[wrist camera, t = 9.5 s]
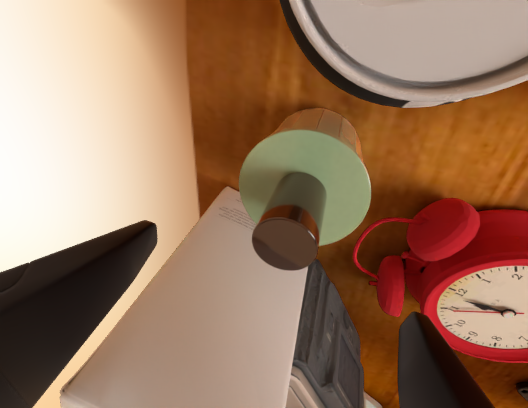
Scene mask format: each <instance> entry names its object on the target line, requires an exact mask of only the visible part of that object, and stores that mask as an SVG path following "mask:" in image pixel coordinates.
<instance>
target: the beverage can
mask: <svg viewBox="0 0 528 408" xmlns="http://www.w3.org/2000/svg"><path fill="white" fill-rule="evenodd" d="M280 4H281V7H282V10H283V13H284V16H285V19H286V22H287V24H288V26H289V28H290V31H291V33H292V34H293V36H294V38H295V40H296V42H297V44H298V45H299V47H300V49H301V50H302V52H303V53H304V54H305V56H306V57H307V58H308V60H309V61H310V62H311V63H312V65H313V66H314V67H315V68H316V69H317V70H318V71H319V72H320V73H321V74H322V75H323V76H324V77H325V78H327V79H328V80H329V81H330V82H332V83H333V84H335V85H336V86H337V87H339V88H341V89H342V90H344V91H346V92H347V93H349V94H352V95H354V96H356V97H358V98H360V99H363V100H366V101H369V102H372V103H376V104H380V105H385V106H393V107H400V108H415V107H430V106H438V105H444V104H449V103H454V102H458V101H463V100H466V99H469V98H472V97H476V96H482V95H486V94H489V93H492V92H495V91H499V90H502V89H505V88H508V87H511V86H514V85H516V84H519V83H522V82H524V81H527V80H528V0H280Z"/></svg>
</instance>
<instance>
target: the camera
mask: <svg viewBox="0 0 528 408" xmlns="http://www.w3.org/2000/svg"><path fill="white" fill-rule="evenodd" d="M363 393H364V372H363V366H362V364H361V362H360V338H359V335H358V333H357V331H356V329H355V326H354V324H353V322H352V320H351V318H350V316H349V314H348V312H347V310H346V308H345V306H344V304H343V302H342V300H341V297H340V296H339V294H338V291H337V289H336V287H335V285H334V284H333V283H332V282H331V281H330V280H329V278H328V277H327V275H326V273H325V271H324V269H323V267H322V265H321V263H320V262H319V260H318V259H315V260H314V261H313V262H312V263H311V264H310V265H309V266H308V270H307V276H306V282H305V288H304V294H303V301H302V307H301V313H300V319H299V325H298V332H297V338H296V344H295V350H294V356H293V363H292V369H291V375H290V381H289V388H288V394H287V401H286V407H285V408H364V396H363Z"/></svg>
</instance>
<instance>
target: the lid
mask: <svg viewBox="0 0 528 408" xmlns="http://www.w3.org/2000/svg"><path fill="white" fill-rule="evenodd" d="M239 191H240V196H241V200H242V202H243V205H244V207H245V209H246V211H247V213H248V214H249V216H250V217H251V218H252V220H253V221H254V222H255V223H256V226H255V228H254V230H253V233H252V245H253V248H254V250H255V252H256V253H257V255H258V256H259V257H260V258H261V259H262V260H263V261H264V262H265V263H267V264H268V265H270V266H272V267H274V268H277V269H280V270H286V271H296V270H301V269H303V268H306V267H307V266H309V265H310V264H311V263H312V262H313V261H314V260H315V259H316V257H317V254H318V249H319V246H321V245H326V244H330V243H333V242H336V241H339V240H340V239H342V238H344V237H346V236H347V235H349V234H350V233H352V232H353V231H354V230H355V229H356V228H357V227H358V226H359V225H360V223H361V222H362V221H363V219H364V217H365V216H366V214H367V211H368V209H369V205H370V201H371V183H370V177H369V173H368V170H367V168H366V165H365V163H364V161H363V160H362V158H361V157H360V155H359V154H358V153H357V152H356V150H355V149H354V148H353V147H352V146H350V145H349V144H348V143H347V142H346V141H344V140H343V139H341V138H340V137H338V136H336V135H334V134H332V133H330V132H327V131H324V130H321V129H316V128H311V127H292V128H287V129H283V130H280V131H277V132H274V133H272V134H270V135H268V136H267V137H265V138H264V139H262V140H261V141H260V142H259V143H258V144H257V145H256V146H255V147H254V148H253V149H252V150H251V151H250V153H249V154H248V155H247V157H246V159H245V160H244V162H243V165H242V168H241V171H240V176H239Z"/></svg>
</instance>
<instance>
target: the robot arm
mask: <svg viewBox="0 0 528 408" xmlns="http://www.w3.org/2000/svg"><path fill="white" fill-rule="evenodd" d="M156 244H157V227H156V224H155V223H152V222H149V221H147V220H144V221H140V222H138V223H135V224H132V225H130V226H127V227H124V228H121V229H119V230H116V231H113V232H110V233H108V234H105V235H102V236H100V237H97V238H94V239H92V240H89V241H86V242H83V243H81V244H78V245H75V246H72V247H69V248H67V249H64V250H61V251H59V252H56V253H53V254H50V255H48V256H45V257H42V258H39V259H37V260H34V261H32V262H30V263H26V264H23V265H20V266H17V267H15V268H12V269H9V270H6V271H3V272H0V408H32V407H33V406H34V405H35V404H36V403H37V401H38V400H39V399H40V398H41V396H42V395H43V394H44V393H45V391H46V390H47V389H48V388H49V386H50V385H51V384H52V383H53V381H54V380H55V379H56V378H57V376H58V375H59V374H60V373H61V371H62V370H63V369H64V367H65V366H66V365H67V364H68V363H69V361H70V360H71V359H72V357H73V356H74V355H75V354H76V352H77V351H78V350H79V349H80V347H81V346H82V345H83V344H84V342H85V341H86V340H87V339H88V337H89V336H90V335H91V334H92V332H93V331H94V330H95V329H96V327H97V326H98V325H99V323H100V322H101V321H102V320H103V319H104V317H105V316H106V315H107V314H108V312H109V311H110V310H111V309H112V307H113V306H114V305H115V304H116V302H117V301H118V300H119V299H120V297H121V296H122V295H123V294H124V292H125V291H126V290H127V289H128V287H129V286H130V284H131V283H132V282H133V281H134V279H135V278H136V276H137V275H138V273H139V272H140V270H141V268H142V267H143V265H144V264H145V262H146V261H147V259H148V257H149V256H150V254H151V253H152V251H153V250H154V248H155V246H156ZM516 388H517V390H518V392H519V393H520V394H521V395H522V396H523V397H524V398H525V399H526V400H527V401H528V382H526V383H520V384H517V385H516ZM398 392H399V404H400V408H495V407H494V406H493V404H492V403H491V402H490V400H489V399H488V398H487V396H486V395H485V393H484V392H483V391H482V389H481V388H480V387H479V385H478V384H477V383H476V381H475V380H474V378H473V377H472V376H471V374H470V373H469V372H468V370H467V369H466V367H465V366H464V365H463V363H462V362H461V361H460V359H459V358H458V356H457V355H456V354H455V352H454V351H453V350H452V348H451V347H450V345H449V344H448V343H447V341H446V340H445V339H444V337H443V336H442V335H441V333H440V332H439V330H438V329H437V328H436V326H435V325H434V324H433V322H432V321H431V319H430V318H429V317H428V316H427V315H424V314H421V313H418V312H415V311H414V312H412V313H411V314H410V315H409V316H408V317H407V318H406V320H405V321H404V322H403V323H402V324H401V326H400V329H399V348H398Z"/></svg>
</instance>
